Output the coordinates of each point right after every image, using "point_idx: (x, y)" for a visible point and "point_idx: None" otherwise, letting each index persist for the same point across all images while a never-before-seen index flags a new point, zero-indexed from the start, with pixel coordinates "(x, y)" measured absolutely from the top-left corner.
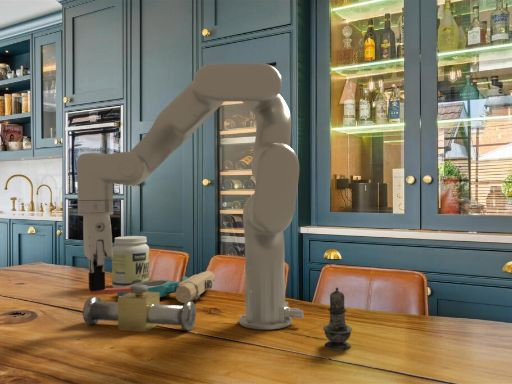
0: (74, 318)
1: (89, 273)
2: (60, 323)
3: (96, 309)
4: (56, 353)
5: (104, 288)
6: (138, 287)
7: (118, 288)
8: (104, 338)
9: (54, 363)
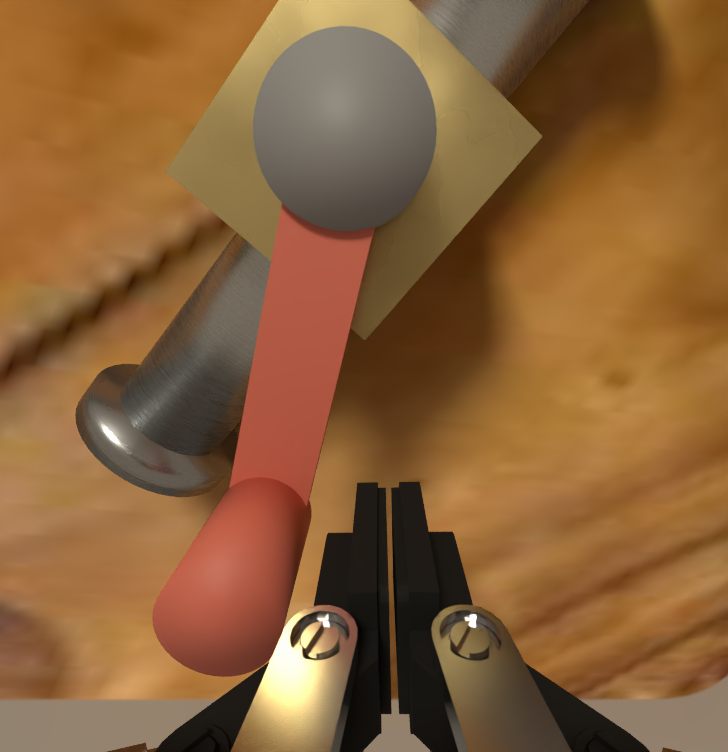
0: (64, 466)
1: (380, 721)
2: (133, 526)
3: (231, 425)
4: (554, 568)
5: (419, 486)
6: (400, 154)
7: (308, 339)
8: (467, 389)
9: (660, 580)
